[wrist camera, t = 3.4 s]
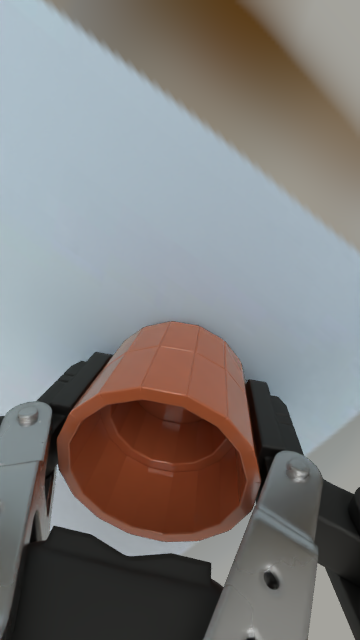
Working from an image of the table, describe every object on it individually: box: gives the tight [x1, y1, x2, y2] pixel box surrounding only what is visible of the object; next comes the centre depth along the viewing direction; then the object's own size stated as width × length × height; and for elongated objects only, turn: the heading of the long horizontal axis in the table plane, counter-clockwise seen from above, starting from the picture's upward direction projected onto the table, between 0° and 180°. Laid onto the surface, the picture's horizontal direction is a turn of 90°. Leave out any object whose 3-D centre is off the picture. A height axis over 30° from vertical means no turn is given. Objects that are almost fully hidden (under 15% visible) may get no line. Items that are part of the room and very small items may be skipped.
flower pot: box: [57, 321, 262, 542], centre depth 10 cm, size 6×6×5 cm
